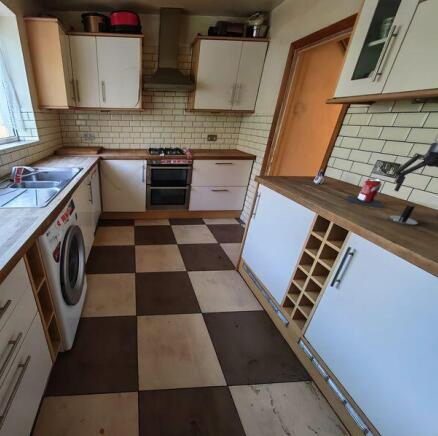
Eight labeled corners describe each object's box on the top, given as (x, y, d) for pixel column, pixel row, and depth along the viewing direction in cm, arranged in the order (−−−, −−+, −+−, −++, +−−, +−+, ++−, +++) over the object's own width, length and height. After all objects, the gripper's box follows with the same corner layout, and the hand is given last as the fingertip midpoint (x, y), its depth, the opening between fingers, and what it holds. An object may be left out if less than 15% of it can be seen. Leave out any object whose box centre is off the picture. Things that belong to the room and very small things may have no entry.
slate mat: (378, 201, 127) (379, 200, 127) (383, 208, 118) (384, 207, 118) (347, 196, 134) (347, 195, 134) (349, 202, 125) (349, 201, 125)
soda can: (361, 202, 124) (371, 181, 119) (354, 198, 130) (363, 177, 124) (375, 203, 122) (386, 182, 117) (368, 199, 128) (377, 178, 123)
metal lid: (413, 220, 105) (422, 204, 102) (419, 227, 99) (429, 211, 95) (387, 215, 110) (395, 200, 107) (391, 222, 103) (400, 206, 100)
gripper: (491, 145, 86) (456, 198, 95) (400, 139, 98) (377, 186, 108) (503, 147, 80) (465, 203, 90) (405, 140, 93) (380, 190, 102)
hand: (417, 194), depth 99 cm, fingers open, 13 cm apart
